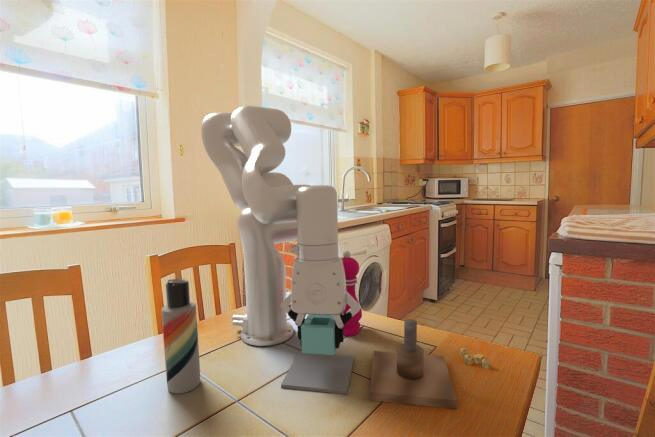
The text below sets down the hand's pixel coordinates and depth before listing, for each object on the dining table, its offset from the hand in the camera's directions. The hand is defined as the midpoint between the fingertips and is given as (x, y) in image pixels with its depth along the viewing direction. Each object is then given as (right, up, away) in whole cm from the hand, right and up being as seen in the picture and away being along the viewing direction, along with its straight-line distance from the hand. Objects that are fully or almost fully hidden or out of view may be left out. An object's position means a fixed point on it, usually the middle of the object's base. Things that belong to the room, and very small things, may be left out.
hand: (321, 343), depth 65 cm
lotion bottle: (-25, -7, -2) cm, 26 cm away
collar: (0, -1, 0) cm, 1 cm away
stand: (+17, -6, -2) cm, 18 cm away
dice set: (+31, -6, +4) cm, 32 cm away
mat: (0, -6, +1) cm, 6 cm away
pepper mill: (+6, -4, +19) cm, 20 cm away
